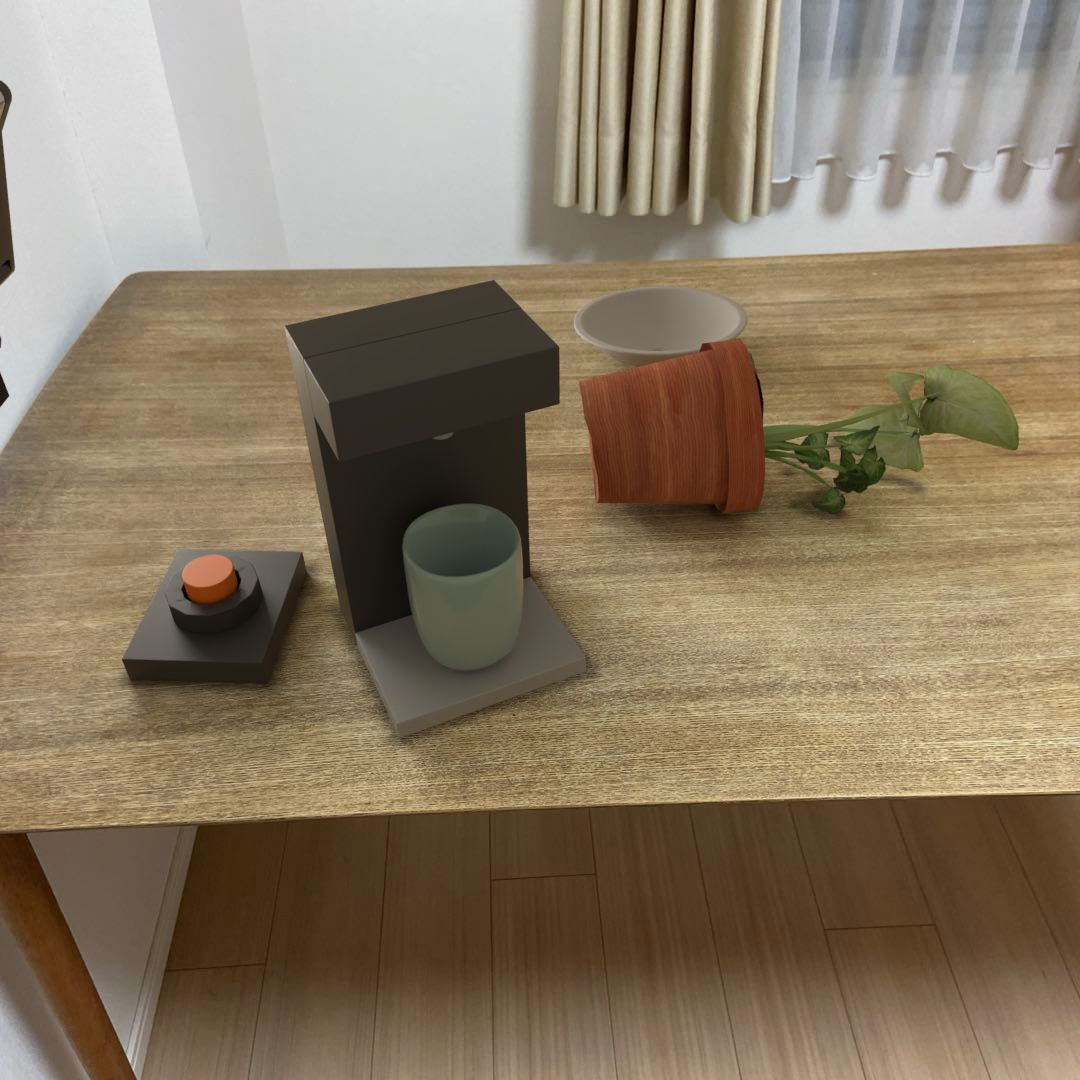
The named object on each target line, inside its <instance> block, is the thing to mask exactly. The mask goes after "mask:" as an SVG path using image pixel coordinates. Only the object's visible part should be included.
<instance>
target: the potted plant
mask: <svg viewBox="0 0 1080 1080" xmlns="http://www.w3.org/2000/svg"><path fill="white" fill-rule="evenodd" d="M755 365H756V364H755V362H754V359H753V355H752V353H751V352H749V350H748V347H747V346H746V344H745V343H744V342H743V339H741V338H735V339H733V340H726V341H718V342H710V343H702V346H701V348H700V351H699V353H694V354H690V355H686V356H682V357H678V358H674V359H670V360H665V361H661V362H657V363H653V364H649V365H645V366H641V367H638V366H635V367H633V368H629V369H625V370H620V371H616V372H612V373H607V374H604V375H600V376H599V375H598V376H595V377H591V378H587V379H583V380H579V381H578V380H577V381H578V386H579V391H580V396H581V402H582V403H581V404H582V410H583V418H584V422H585V425H586V428H587V433H588V434H587V435H588V441H589V442H588V444H589V451H590V452H589V453H590V459H591V460H590V461H591V468H592V474H593V486H594V496H595V502H596V504H662V505H664V504H667V505H670V504H672V505H673V504H677V505H679V504H680V505H715V508H716V510H717V511H718V512H719V513H720V514H723V515H724V514H731V513H740V512H750V511H751V512H752V511H756V510H757V509H758V508H759V507H760V506H761V503H762V499H763V497H764V496H763V495H764V490H765V477H766V459H770V460H773V461H776V462H781V463H784V464H785V465H789V466H791V467H793V468H795V469H798V470H801V471H803V472H805V474H807V475H808V476H809V477H811V478H813V479H814V480H816V481H817V482H819V483H821V484H823V485H825V486H827V487H830V489H829V490H828V491H827V493H825V495H824V496H822V498H820V500H812V504H813V507H814V508H815V509H817V510H819V511H820V512H828V513H830V514H835V513H839V512H841V511H843V509H844V507H845V505H846V503H847V501H846V497H845V495H844V494H843V493H846V494H850V493H852V492H855V493H857V494H862V493H863V492H865V491H867V490H868V487H870V486H873V485H876V484H878V483H879V481H881V479H882V478H883V476H884V474H885V472H886V469H887V467H886V466H891V467H892V468H896V469H898V470H911V471H913V472H916V473H918V472H920V471H922V470H923V469H925V463H924V459H923V453H922V448H921V442H920V441H921V440H920V438H921V437H923V436H931V435H933V434H944V435H945V434H946V435H947V434H949V435H955V436H959V437H961V438H964V439H968V440H972V441H976V442H980V443H983V444H987V445H990V446H991V445H992V446H994V447H998V448H1001V449H1005V450H1009V451H1016V450H1018V448H1019V445H1020V441H1019V440H1020V438H1019V437H1020V436H1019V435H1020V434H1019V433H1020V432H1019V427H1020V426H1019V423H1018V420H1017V417H1016V415H1015V414H1014V411H1013V410H1012V407H1011V406H1010V405H1009V403H1008V401H1007V400H1006V399H1005V397H1004V396H1003V395H1002V393H1001V392H1000V390H998V389H997V388H995V386H993V385H991V384H990V383H988V381H987V380H986V379H984V378H983V377H980V376H977V375H974V374H972V373H970V372H967V370H964V369H957V368H952V367H951V366H950V365H947V364H937V365H932V366H931V367H928V368H927V369H926V371H925V373H924V374H925V375H922V374H918V373H912V372H903V371H892V372H889V373H886V381H887V382H888V384H889V385H890V387H891V388H892V389H893V390H894V392H895V394H896V395H897V396H898V399H899V400H900V402H901V403H898V404H891V405H879V404H871V405H870V404H869V405H866V406H863V407H861V408H859V409H857V410H856V412H855V413H854V414H853V415H852V416H851V417H850V418H846V419H843V420H838V421H833V422H829V423H825V424H819V425H816V424H815V425H813V424H811V425H810V424H775V425H774V424H773V425H767V426H764V407H765V405H764V397H763V390H762V386H761V380H760V378H759V375H758V372H757V369H756V366H755ZM922 379H924V381H923V384H924V386H923V396H919V397H917V398H914V399H911V396H910V392H911V390H912V388H913V387H914V385H915V384H916V383H917V382H918V381H920V380H922ZM925 400H926V401H925ZM923 402H924V403H923ZM842 432H843V435H835V436H833V435H832V437H833V440H834V441H836V443H840V444H828V439H829V433H842ZM804 437H805V438H804ZM798 438H804V439H803V441H802V442H801V443H800V444H799V443H796V442H792V441H791V440H794V439H798ZM790 441H791V442H790ZM827 444H828V445H827ZM837 447H838V448H839V450H840V457H839V464H838V463H834V462H832V461H831V455H830V454H831V453H830V452H829V450H828V449H829V448H837ZM792 451H793V452H794V453H791V452H792ZM853 454H854V455H856V456H858V457H859V456H862V457H861V458H860V460H859V461H858V463H856V458H855V457H854V455H853ZM787 458H788V459H787ZM789 459H793V460H794V459H795V460H797V461H799V463H800V464H802V465H805V464H806V465H807V467H808V468H809V469H810V470H809V469H807V468H805V467H804V466H801V465H799V464H797V463H795V462H793V461H790V460H789ZM825 467H826V468H827V469H830V470H834V471H836V472H838V474H837V476H836V477H832V480H833V484H834V486H831V484H829V483H828V482H827V481H826V480H824V479H823V478H822V477H821V476H819V475H818V474H817V473H815V472H813V471H811V470H815V471H819V470H821V469H824V468H825ZM840 492H843V493H841V494H840Z"/></svg>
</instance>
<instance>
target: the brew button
mask: <svg viewBox="0 0 1080 1080" xmlns="http://www.w3.org/2000/svg"><path fill="white" fill-rule="evenodd" d="M182 579H183V582H184V585H185V588H186V591H187V594H188V597H189V598H190V600H191V601H193V602H194V603H197V604H212V603H215V602H219V601H222V600H225V599H227V598H228V597H229V596H231V595H232V594H233V593H234V592H235V591H236V589H237V587H238V581H237V578H236V574H235V571H234V567H233V564H232V562H231V561H230V560H229V559H228V558H227V557H224V556H221V555H207V556H202V557H199V558H197V559H195V560H193V561H192V562H190V563H189V564H188V565H187V566H186V567H185V568H184V570H183V573H182Z"/></svg>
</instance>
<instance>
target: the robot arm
mask: <svg viewBox="0 0 1080 1080" xmlns="http://www.w3.org/2000/svg"><path fill="white" fill-rule="evenodd" d="M12 101H13V94H12V91H11V88H10V87H9V86H8V85H7V84H6V83H5V82H4V81H3V80H0V287H1V286H2V285H4V283H5V282H6V281H7V280H8V279H9V278H10V276H12V275H13V274H14V272H15V270H16V262H15V253H14V241H13V233H12V220H11V212H10V201H9V199H10V198H9V190H8V180H7V170H6V169H7V168H6V158H5V149H4V139H3V129H4V126H5V124H6V120H7V117H8V114H9V111H10V107H11V104H12ZM1 348H2V336H1V335H0V349H1ZM8 398H10V393H9V391H8V388H7V386H6V383H5V381H4V378H3V376H2V373H1V372H0V408H2V406H3V405H4V403H5V402H6V401H7V400H8Z"/></svg>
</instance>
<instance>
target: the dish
mask: <svg viewBox="0 0 1080 1080" xmlns="http://www.w3.org/2000/svg"><path fill="white" fill-rule="evenodd" d="M747 324H748V314H747V312H746V310H745V309H744V308H743V306H742V305H740V304H739V302H737V301H736V300H733V299H732V298H730V297H728V296H725V295H724V294H720V293H717V292H714V291H710V290H707V289H703V288H696V287H690V286H676V285H653V286H651V285H650V286H640V287H639V286H638V287H632V288H626V289H622V290H617V291H613V292H610V293H607V294H606V293H605V294H604V295H601V296H598V297H596V298H594V299H592V300H591V301H589V302H587V303H586V304H584V305H582V307H581V308H579V309H578V310H577V312H576V314H575V316H574V318H573V327H574V330H575V332H576V334H577V335H578V336H579V337H580V338H581V339H583V341H585V342H587V343H589V344H591V345H592V346H594V347H595V348H596V349H598V350H599V351H600V352H602V353H603V354H605V355H606V356H608V357H609V358H611V359H613V360H616V361H617V362H620V363H623V364H626V365H630V366H634V367H641V366H645V365H649V364H653V363H657V362H661V361H665V360H670V359H674V358H678V357H682V356H686V355H690V354H694V353H699V351H700V348H701V346H702V343H710V342H718V341H726V340H734V339H737V338H738V337H739V336H740V335H741V334H742V333H743V332H744V330H745V328H746V327H747Z"/></svg>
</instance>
